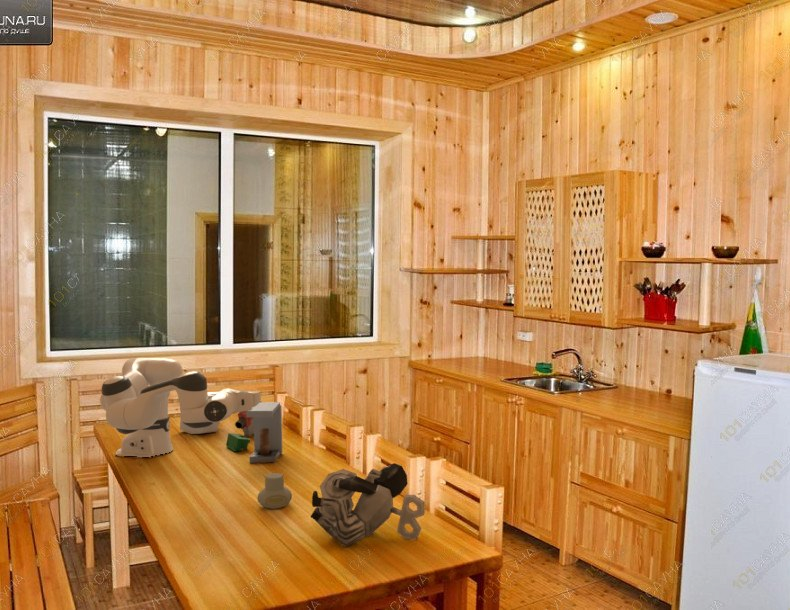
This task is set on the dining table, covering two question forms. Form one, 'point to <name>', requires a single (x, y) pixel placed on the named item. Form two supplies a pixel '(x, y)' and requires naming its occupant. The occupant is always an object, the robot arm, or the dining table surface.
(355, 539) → the toy
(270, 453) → the socket
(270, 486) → the air freshener
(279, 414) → the gray cantilever bracket
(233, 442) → the clamp
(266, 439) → the peg
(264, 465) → the dining table surface
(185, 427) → the electrical switch box
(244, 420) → the toy gun
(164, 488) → the dining table surface
